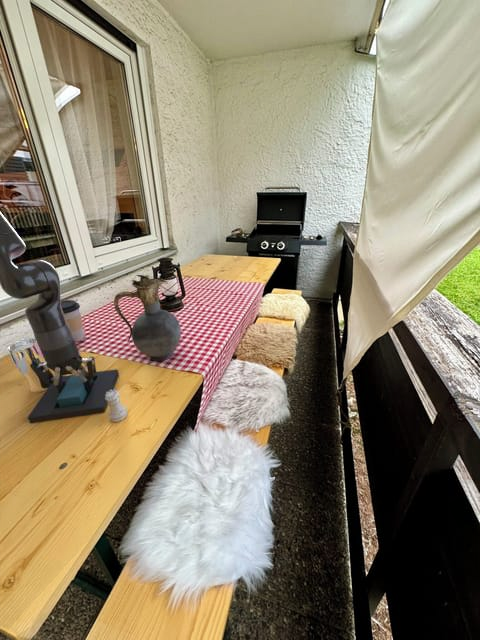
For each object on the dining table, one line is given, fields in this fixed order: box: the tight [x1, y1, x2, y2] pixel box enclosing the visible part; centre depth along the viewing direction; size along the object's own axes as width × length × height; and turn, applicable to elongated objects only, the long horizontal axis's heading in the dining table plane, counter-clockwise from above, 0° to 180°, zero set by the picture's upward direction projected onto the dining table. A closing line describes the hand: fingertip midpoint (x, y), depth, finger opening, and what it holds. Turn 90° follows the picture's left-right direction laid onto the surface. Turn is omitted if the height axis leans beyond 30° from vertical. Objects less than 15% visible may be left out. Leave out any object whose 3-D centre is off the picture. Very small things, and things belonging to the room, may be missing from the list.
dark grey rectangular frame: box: [27, 369, 120, 424], centre depth 74 cm, size 18×16×2 cm
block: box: [57, 374, 95, 408], centre depth 73 cm, size 6×10×4 cm, turn 10°
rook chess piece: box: [105, 389, 128, 423], centre depth 66 cm, size 4×4×8 cm
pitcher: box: [113, 274, 182, 362], centre depth 84 cm, size 11×19×30 cm, turn 97°
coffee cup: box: [61, 299, 86, 343], centre depth 99 cm, size 9×9×15 cm
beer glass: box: [7, 337, 50, 394], centre depth 75 cm, size 7×7×15 cm
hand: (77, 391), depth 73 cm, fingers open, 5 cm apart
